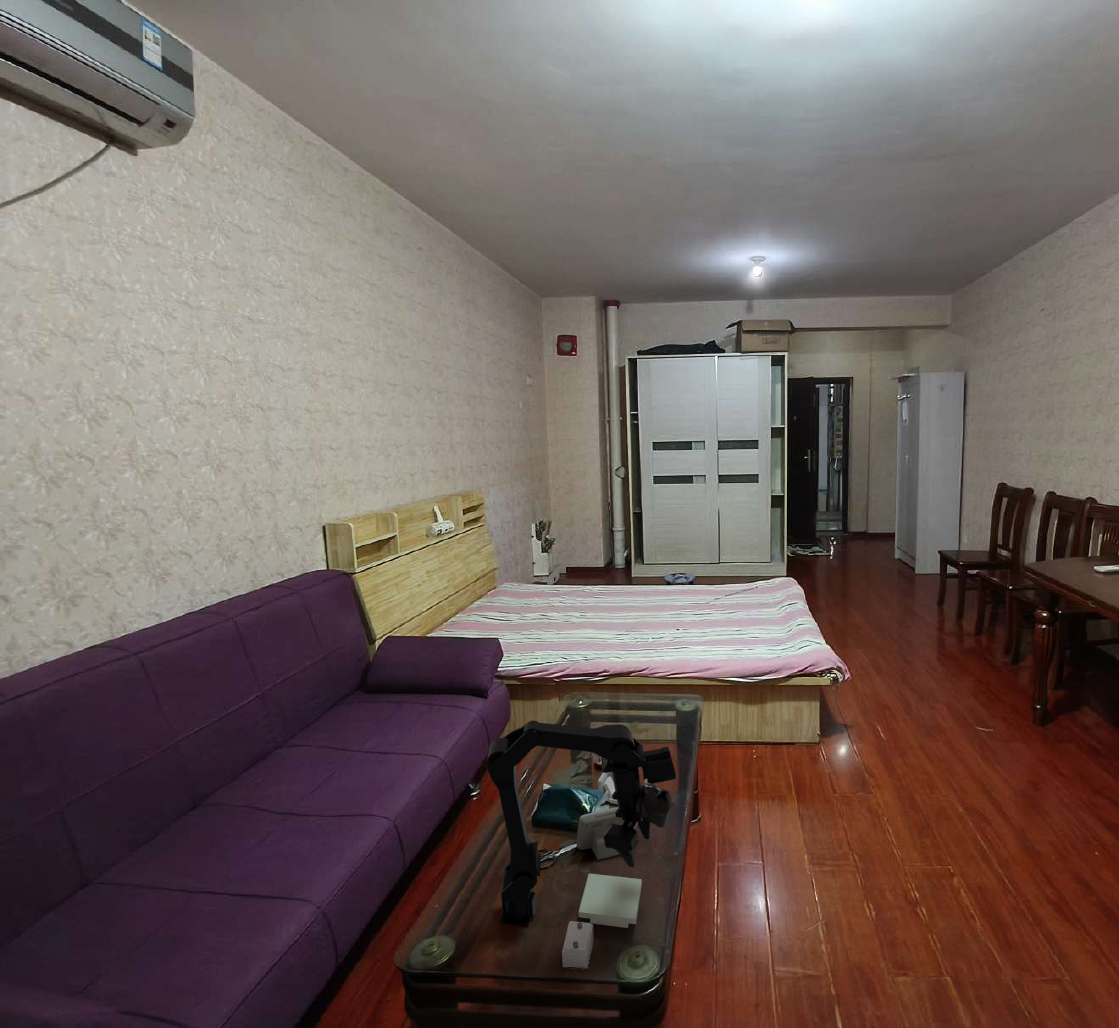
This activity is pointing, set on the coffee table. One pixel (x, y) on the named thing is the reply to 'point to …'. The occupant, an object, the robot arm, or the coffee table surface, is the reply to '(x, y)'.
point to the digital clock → (597, 832)
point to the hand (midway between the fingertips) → (639, 852)
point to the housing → (577, 944)
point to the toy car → (608, 784)
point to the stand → (611, 900)
